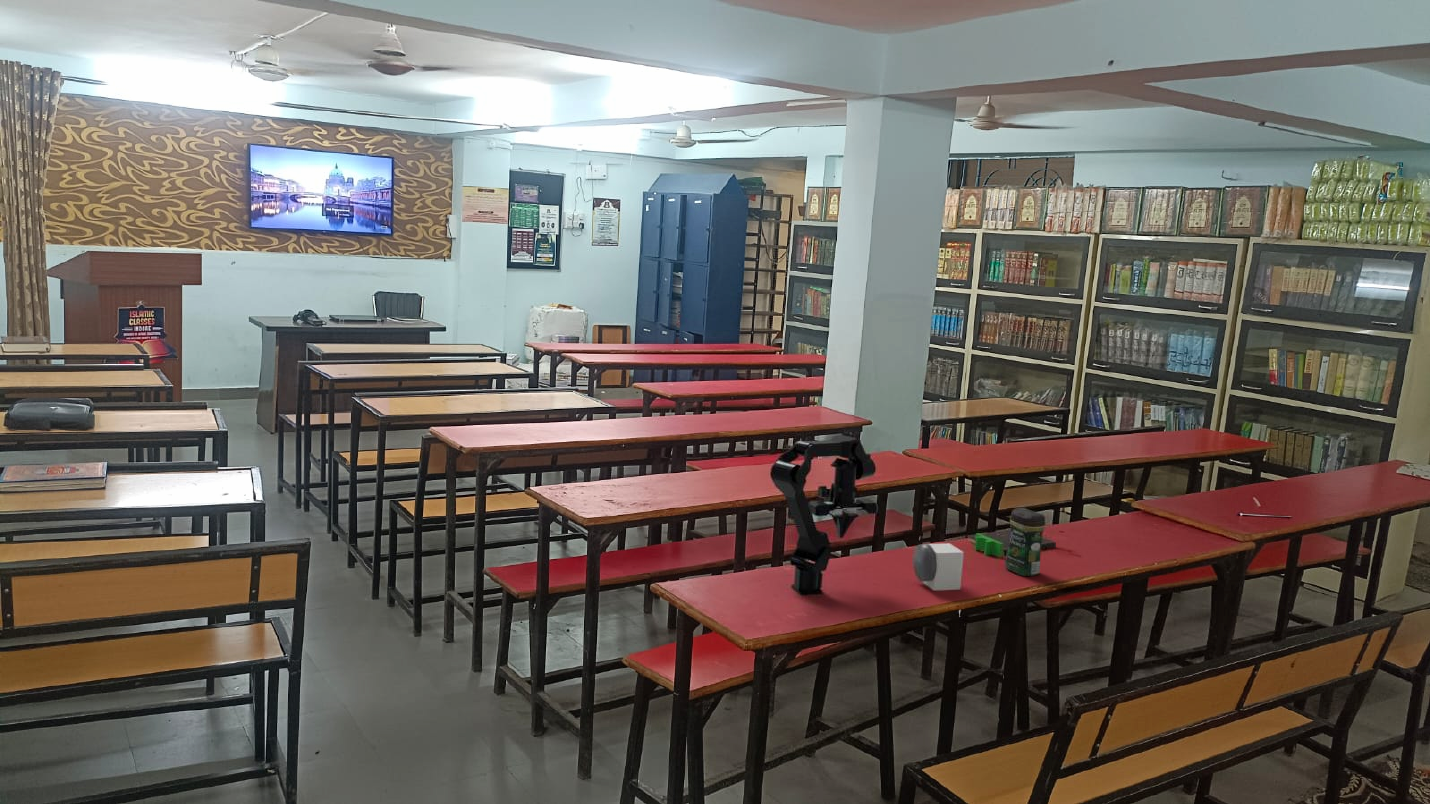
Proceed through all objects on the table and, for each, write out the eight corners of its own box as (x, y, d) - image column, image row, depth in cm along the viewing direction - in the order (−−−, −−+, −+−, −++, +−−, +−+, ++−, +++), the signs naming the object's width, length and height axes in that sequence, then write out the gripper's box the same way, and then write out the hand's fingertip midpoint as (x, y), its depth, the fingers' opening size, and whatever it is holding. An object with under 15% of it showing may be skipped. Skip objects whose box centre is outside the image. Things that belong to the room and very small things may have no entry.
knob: (928, 586, 264) (931, 551, 263) (911, 574, 274) (914, 539, 272) (951, 585, 266) (955, 550, 264) (934, 573, 275) (937, 539, 274)
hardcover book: (966, 542, 315) (967, 535, 314) (1017, 535, 326) (1018, 528, 326) (1003, 557, 301) (1004, 550, 301) (1055, 549, 313) (1056, 542, 312)
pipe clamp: (967, 548, 308) (969, 534, 307) (977, 547, 309) (978, 533, 308) (992, 558, 298) (993, 544, 297) (1001, 557, 299) (1003, 543, 299)
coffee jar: (999, 567, 289) (1006, 506, 286) (1020, 565, 292) (1026, 504, 289) (1023, 578, 280) (1030, 515, 277) (1044, 575, 284) (1051, 513, 281)
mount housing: (933, 590, 266) (937, 553, 264) (920, 580, 274) (923, 544, 272) (960, 589, 268) (963, 552, 266) (946, 579, 276) (949, 543, 274)
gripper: (861, 474, 277) (857, 527, 279) (801, 476, 270) (797, 530, 273) (880, 483, 266) (876, 539, 269) (818, 486, 260) (814, 542, 262)
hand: (840, 537), depth 268 cm, fingers closed
